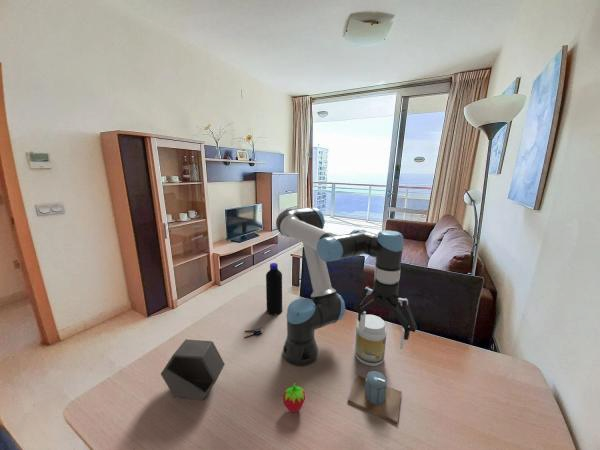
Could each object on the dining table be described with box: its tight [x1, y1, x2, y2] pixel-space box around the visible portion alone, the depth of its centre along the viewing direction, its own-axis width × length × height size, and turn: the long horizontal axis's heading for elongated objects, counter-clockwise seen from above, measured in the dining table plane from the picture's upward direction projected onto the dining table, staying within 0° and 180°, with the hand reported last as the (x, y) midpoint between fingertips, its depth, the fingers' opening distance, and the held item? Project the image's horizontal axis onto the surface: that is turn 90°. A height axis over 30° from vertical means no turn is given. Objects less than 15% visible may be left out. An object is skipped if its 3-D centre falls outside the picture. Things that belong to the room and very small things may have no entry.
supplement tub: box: [354, 314, 387, 367], centre depth 102 cm, size 12×12×17 cm
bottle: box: [265, 262, 283, 316], centre depth 134 cm, size 9×9×28 cm
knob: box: [365, 370, 388, 405], centre depth 84 cm, size 7×7×7 cm
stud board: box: [347, 374, 402, 425], centre depth 84 cm, size 16×12×6 cm
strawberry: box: [282, 382, 306, 413], centre depth 79 cm, size 6×7×10 cm
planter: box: [160, 339, 225, 401], centre depth 85 cm, size 17×8×21 cm
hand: (381, 337), depth 82 cm, fingers open, 13 cm apart
